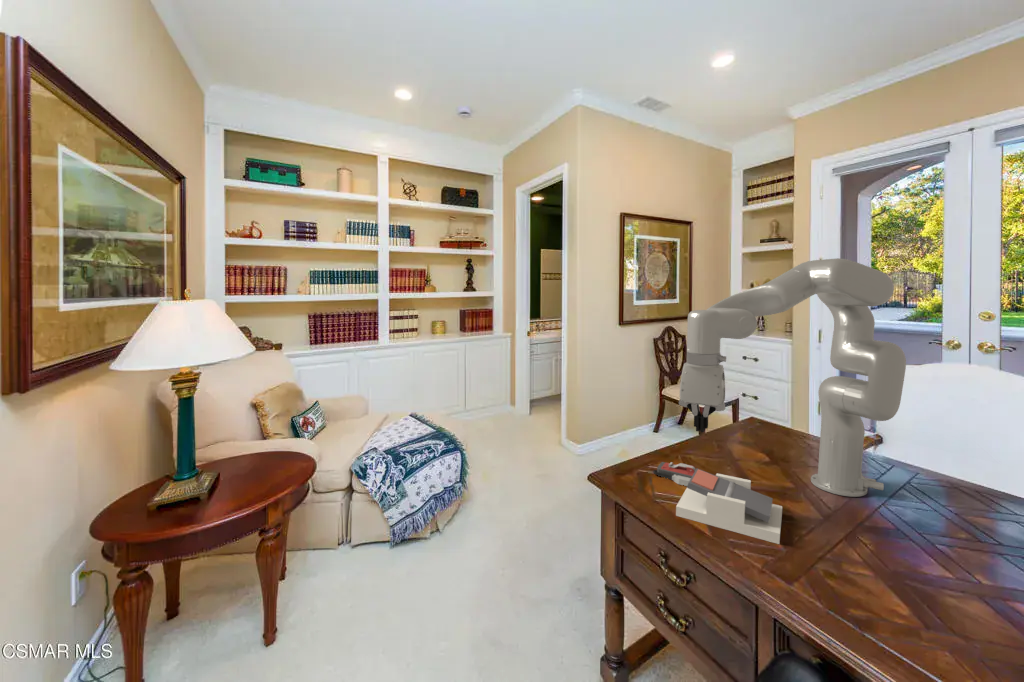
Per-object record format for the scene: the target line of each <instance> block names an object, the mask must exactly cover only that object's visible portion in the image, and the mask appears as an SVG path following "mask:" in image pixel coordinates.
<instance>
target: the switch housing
mask: <svg viewBox="0 0 1024 682" xmlns="http://www.w3.org/2000/svg"><path fill="white" fill-rule="evenodd" d="M715 476H718V477H720V478H723V479H725V480H728V481H732V482H735V483H736V484H738V485H740V486H743V487H745V488H748V489H750V490H752V488H751V487H752V480H750V479H746V478H741V477H736V476H733V475H727V474H722V473H716V474H715ZM675 516H676V517H680V518H683V519H687V520H690V521H694V522H696V523H697V522H698V523H701V524H703V525H704V524H705V525H708V526H712V527H715V528H719V529H723V530H726V531H730V532H734V533H738V534H741V535H744V536H748V537H752V538H755V539H758V540H762V541H766V542H770V543H773V544H777V545H780V541H781V529H782V518H783V506H782V505H779V504H775V503H772V507H771V514H770V519H769V522H766V521H763V520H761V519H759V518H756V517H754V516H752V515H749V514H747V513H745V501H743V500H739V499H734V498H730V497H726V496H722V495H717V494H713V493H709V492H708V494H707V496H705V495H703V494H700V493H698V492H696V491H693V490H691V489H689V488H687V487H686V489H685V490H684V492H683V494H682V495H681V497H680V499H679V500H678V502H677V504H676V506H675Z"/></svg>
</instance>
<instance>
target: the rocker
mask: <svg viewBox="0 0 1024 682" xmlns="http://www.w3.org/2000/svg"><path fill="white" fill-rule="evenodd" d="M686 488H689V489H691V490H693V491H696V492H698V493H700V494H703V495H705V496H707V494H708V492H709V493H713V494H717V495H722V496H726V497H730V498H734V499H739V500H743V501H745V513H747V514H749V515H752V516H754V517H756V518H759V519H761V520H763V521H766V522H769V519H770V514H771V507H772V504H773V497H771V496H767V495H765V494H763V493H760V492H758V491H755V490H753V489H751V490H750V489H748V488H745V487H743V486H740V485H738V484H736V483H735V482H732V481H728V480H725V479H723V478H720V477H718V476H716V474H715V475H714V474H712V473H710V472H707V471H705V470H703V469H700V468H696V470H695V472H694V474H693V476H692V477H691V479H690V481H689V482H688V486H686Z"/></svg>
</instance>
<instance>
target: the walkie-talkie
mask: <svg viewBox="0 0 1024 682" xmlns="http://www.w3.org/2000/svg"><path fill="white" fill-rule="evenodd" d="M656 469H657V470H653V471H652V473H653V474H654V475H658V477H659V476H661V477H660V478H662V477H665V478H664V479H667V478H668V479H667V480H671V481H673V482H675V483H676V484H677V485H681V486H683V485H684V486H683V487H687V486H688V482H689V481H690V479H691V477H692V476H693V474H694V472H695V470H696V469H697V468H696V467H695V465H691V464H686V463H682V462H680V463H678V464H676V463H675V464H674V463H673V462H672V461H671V462H670V463H669V462H664V461H661V462H660V463H659V464H658V466H657V468H656Z"/></svg>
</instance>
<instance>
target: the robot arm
mask: <svg viewBox="0 0 1024 682" xmlns="http://www.w3.org/2000/svg"><path fill="white" fill-rule="evenodd" d="M894 290H895V285H894V282H893V280H892V278H891V277H890V276H889V275H888V274H887V273H885V272H883V271H882V270H878V269H875V268H873V267H870V266H867V265H866V264H863V263H860V262H857V261H854V260H851V259H846V258H837V257H836V258H829V259H827V258H826V259H816V260H815V259H814V260H808V261H805V262H804V261H803V262H801V263H800V264H797V265H796V266H794V267H792V268H791V269H789V270H788V271H787V270H786V271H785V272H783V273H782V274H780V275H778V276H777V277H775V278H773V279H771V280H769V281H768V282H767V281H766V282H765V283H764V284H763V283H762V284H761V285H757V286H755V287H751V288H749V289H747V290H744V291H741V292H739V293H738V292H737V293H736V294H733V295H730V296H728V297H725V298H724V299H722V300H720V301H718V302H716V303H715V304H713V305H711V306H709V307H708V308H707V309H696V310H691V311H689V313H688V314H687V327H686V328H687V330H686V331H687V333H686V335H687V337H686V339H687V340H686V362H684V363H683V366H682V370H681V375H680V383H679V401H678V405H679V406H681V407H684V408H687V409H688V410H689V411H690V413H692V415H693V427H695V431H696V432H701V433H704V432H705V431H706V429H708V428H709V416H710V415H712V414H713V413H714V412H722V411H723V412H724V411H725V410H726V404H725V400H726V379H725V378H726V377H725V370H724V365H723V364H721V363H724V362H725V363H726V362H727V356H725V355H722V354H721V339H733V340H743V339H747V338H749V337H750V336H751V335H753V334H754V332H755V331H756V330H757V327H758V320H757V317H762V316H764V317H765V316H771V315H776V314H780V313H784V312H786V311H788V310H790V309H791V308H793V307H795V306H796V305H798V304H800V303H802V302H803V301H805V300H807V299H809V298H811V297H812V296H814V295H817V298H818V299H819V300H820V301H821V302H822V303H823V304H824V305H825V306H826V307H827V308H828V309H829V311H830V313H831V314H832V317H833V332H832V339H831V349H830V357H829V358H830V364H831V366H832V367H833V368H834V369H835V370H837V371H840V372H844V373H848V374H853V375H854V374H855V375H859V376H865V377H867V380H863V379H859V378H854V377H849V376H842V375H841V376H840V375H836V376H830V377H826V378H825V379H824V380H823V381H822V382H821V383H820V385H819V387H818V400H819V404H820V406H819V407H820V414H821V415H820V416H821V417H820V419H821V420H820V436H819V450H818V465H817V468H818V469H817V473H814V474H812V475H811V477H810V481H811V483H812V484H813V486H815V487H816V488H818V489H820V490H822V491H824V492H828V493H831V494H834V495H837V496H838V495H839V496H843V497H853V498H856V497H857V498H858V497H864V496H866V495H867V494H868V489H869V488H870V489H874V490H879V491H884V487H885V486H884V485H885V484H884V482H879V481H877V479H875V478H874V479H873V478H868V477H866V476H864V475H863V472H862V469H863V468H862V467H863V457H864V456H863V455H864V444H865V443H864V442H865V433H866V432H865V425H864V423H863V419H862V418H865V419H868V420H872V421H878V422H885V421H889V420H891V419H893V418H894V417H895V416H896V414H897V413H898V411H899V409H900V406H901V405H900V404H901V402H902V401H901V400H902V395H903V388H904V383H905V382H904V381H905V377H906V370H907V369H906V367H907V357H906V355H905V351H904V350H903V349H902V348H901V347H900V346H899V345H898V344H896V343H894V342H890V341H884V340H877V339H876V340H875V339H874V337H875V336H874V334H875V324H876V323H875V322H876V321H875V317H874V315H873V313H872V310H871V309H870V308H869V307H877V306H881V305H883V304H886V303H887V302H888V301H889V300H890V299H891V298H892V296H893V294H894ZM700 405H701V406H704V408H703V412H702V413H701V411H700Z"/></svg>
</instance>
